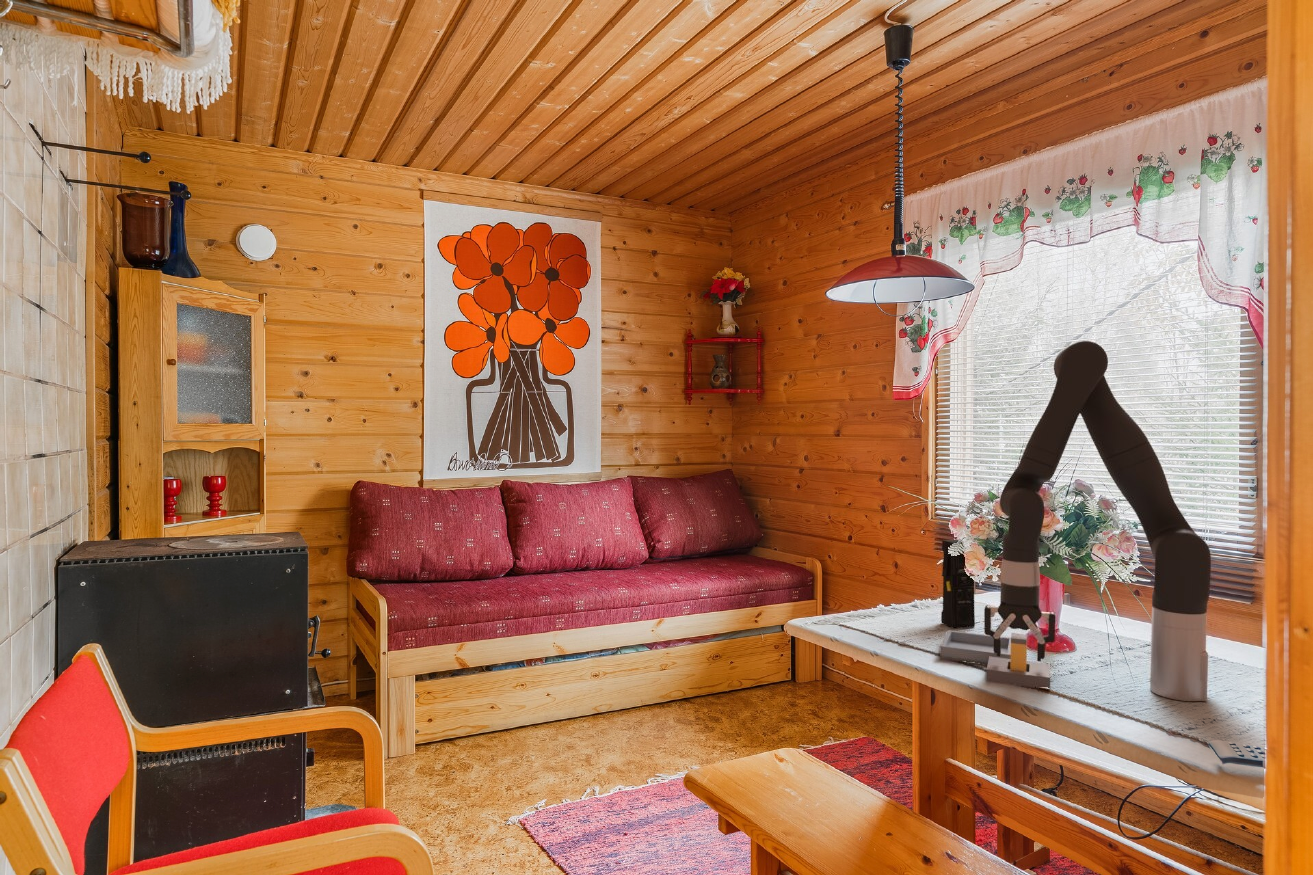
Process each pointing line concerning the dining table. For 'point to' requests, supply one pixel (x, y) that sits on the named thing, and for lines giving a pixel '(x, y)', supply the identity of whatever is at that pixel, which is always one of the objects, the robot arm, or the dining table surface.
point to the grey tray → (972, 647)
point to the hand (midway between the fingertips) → (1018, 657)
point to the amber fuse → (1018, 652)
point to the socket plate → (1018, 673)
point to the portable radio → (956, 591)
